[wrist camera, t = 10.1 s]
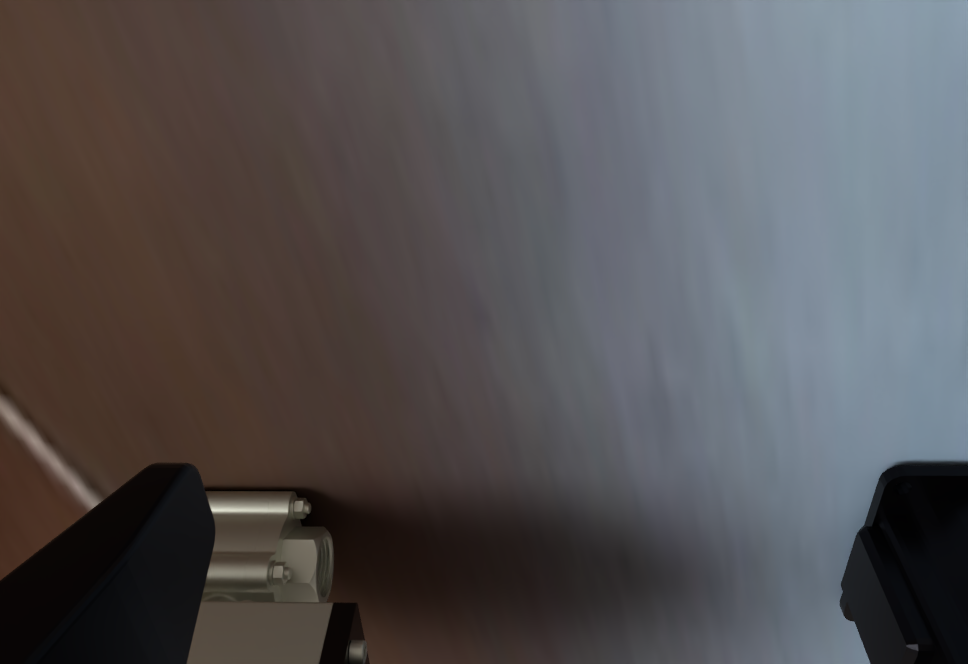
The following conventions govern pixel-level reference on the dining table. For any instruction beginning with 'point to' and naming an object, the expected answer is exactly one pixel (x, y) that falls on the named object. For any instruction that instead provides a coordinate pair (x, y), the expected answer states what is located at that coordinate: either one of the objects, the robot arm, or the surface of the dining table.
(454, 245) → the dining table surface
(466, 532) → the dining table surface
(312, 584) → the pneumatic valve
